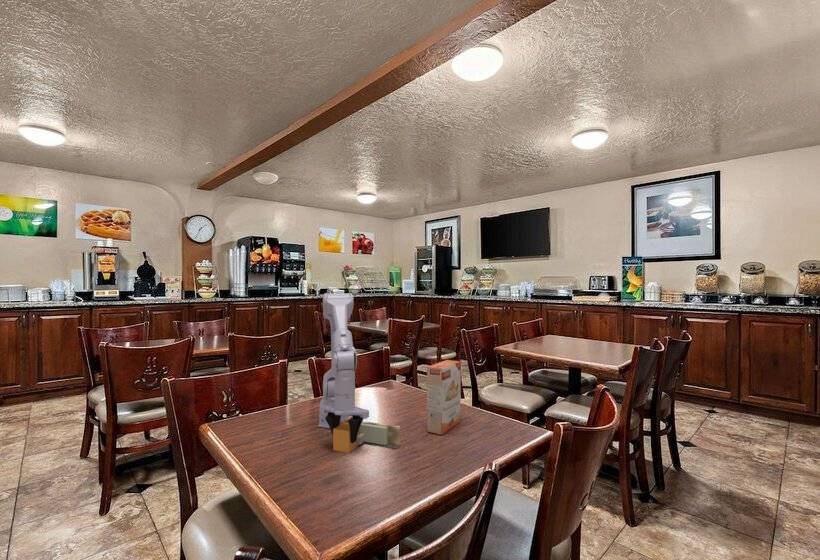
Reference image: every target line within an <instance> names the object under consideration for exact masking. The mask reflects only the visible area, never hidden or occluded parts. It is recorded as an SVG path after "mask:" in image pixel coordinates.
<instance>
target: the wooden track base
mask: <svg viewBox="0 0 820 560" xmlns="http://www.w3.org/2000/svg"><path fill="white" fill-rule="evenodd" d="M349 419H350V418H349ZM349 419H343V420H342V421H340V424H342V423H343V422H348V420H349ZM348 423H349V422H348ZM362 423H363V424H371V425H378V426H385V427H388V444H387V445H383V444H376V443H370V442H363V443H361V444H360V445H362V444H363V445H369V446H375V447H380V448H381V447H382V448H388V449H395V450H397V449H398V448H399V447H400V446H401V426H400V425H393V424H385V423H379V422H371V421H364V420H363V421H362ZM362 423H361V424H362ZM359 435H360V428H359Z"/></svg>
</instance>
